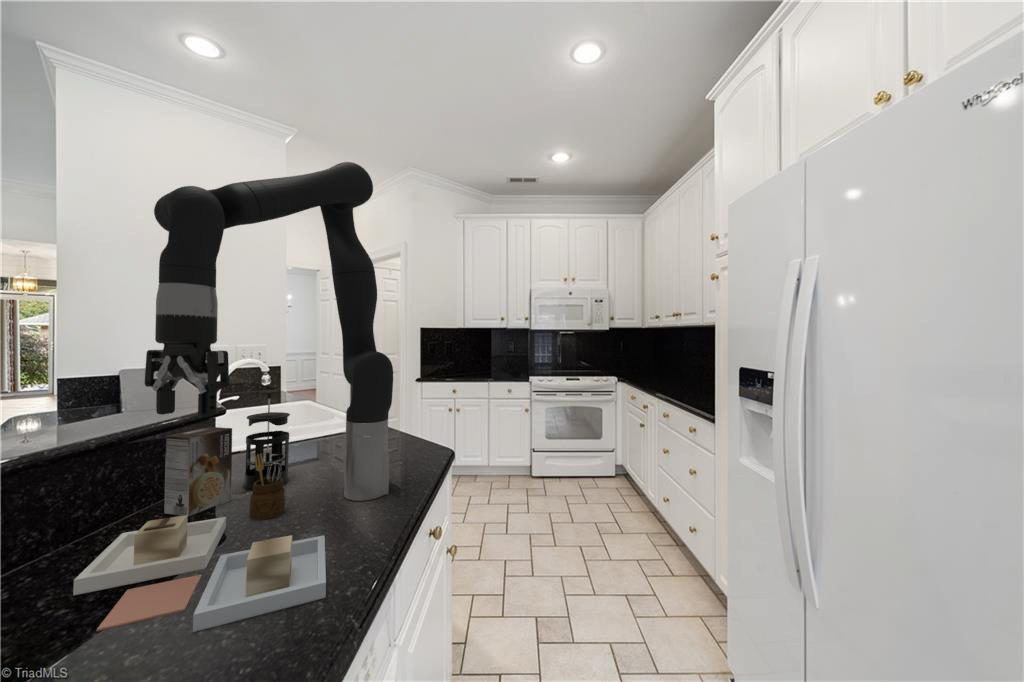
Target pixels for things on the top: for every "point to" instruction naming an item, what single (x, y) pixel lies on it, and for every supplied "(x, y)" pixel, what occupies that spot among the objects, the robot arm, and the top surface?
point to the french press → (276, 442)
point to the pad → (151, 602)
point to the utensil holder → (267, 495)
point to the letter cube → (160, 540)
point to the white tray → (120, 568)
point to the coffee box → (197, 470)
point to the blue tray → (231, 604)
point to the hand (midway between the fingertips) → (185, 414)
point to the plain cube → (269, 565)
